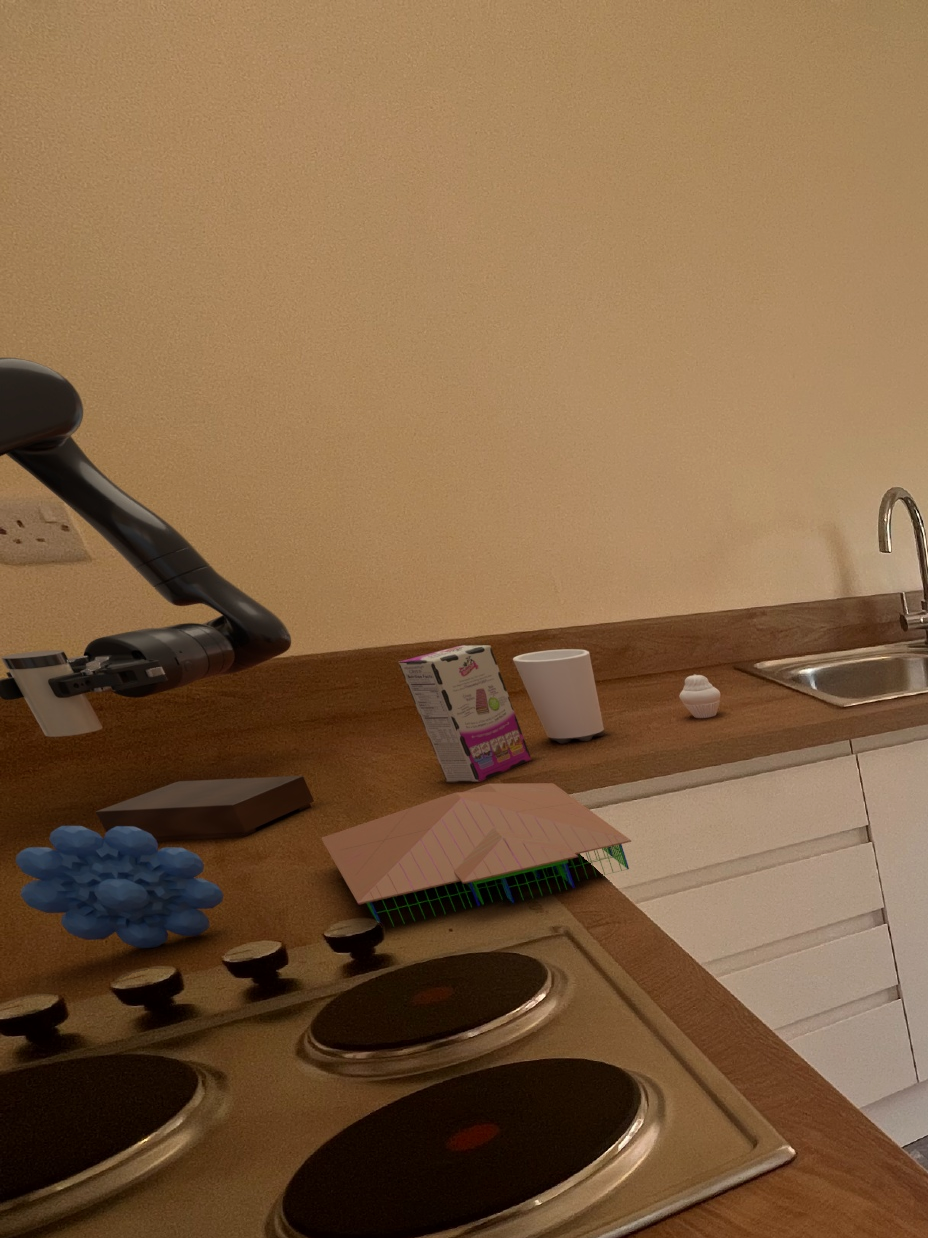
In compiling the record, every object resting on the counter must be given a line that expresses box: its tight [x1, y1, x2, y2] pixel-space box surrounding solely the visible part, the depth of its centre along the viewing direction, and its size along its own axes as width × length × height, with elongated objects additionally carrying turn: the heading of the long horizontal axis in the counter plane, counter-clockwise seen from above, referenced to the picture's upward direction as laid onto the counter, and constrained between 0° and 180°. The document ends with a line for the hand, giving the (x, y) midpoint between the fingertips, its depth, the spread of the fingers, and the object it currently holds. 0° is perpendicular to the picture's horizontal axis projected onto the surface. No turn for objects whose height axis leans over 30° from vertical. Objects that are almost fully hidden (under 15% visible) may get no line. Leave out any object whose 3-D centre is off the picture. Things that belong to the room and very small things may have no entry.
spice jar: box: [0, 649, 104, 738], centre depth 121 cm, size 5×5×9 cm
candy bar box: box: [397, 644, 532, 783], centre depth 142 cm, size 11×5×16 cm, turn 179°
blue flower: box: [15, 825, 224, 949], centre depth 91 cm, size 12×7×12 cm, turn 134°
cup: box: [512, 648, 605, 744], centre depth 159 cm, size 10×10×13 cm
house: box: [320, 782, 632, 927], centre depth 111 cm, size 23×33×8 cm
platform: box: [95, 775, 315, 842], centre depth 125 cm, size 14×12×4 cm
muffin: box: [678, 673, 721, 719], centre depth 173 cm, size 6×6×7 cm
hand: (28, 689), depth 119 cm, fingers closed on spice jar, 5 cm apart
